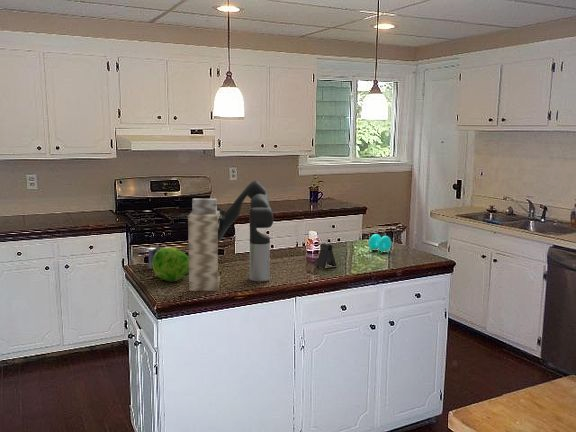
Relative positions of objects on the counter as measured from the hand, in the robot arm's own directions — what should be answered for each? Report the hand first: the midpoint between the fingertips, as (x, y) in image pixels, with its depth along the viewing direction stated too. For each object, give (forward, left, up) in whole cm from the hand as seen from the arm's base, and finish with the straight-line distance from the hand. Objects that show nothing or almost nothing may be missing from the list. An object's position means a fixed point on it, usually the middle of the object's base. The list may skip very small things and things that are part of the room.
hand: (209, 209), depth 255 cm
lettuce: (+16, +16, -30) cm, 38 cm away
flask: (+26, -6, -31) cm, 41 cm away
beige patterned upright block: (0, +26, -30) cm, 40 cm away
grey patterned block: (0, +16, +2) cm, 16 cm away
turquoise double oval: (-94, -43, -31) cm, 108 cm away
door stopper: (-58, -7, -31) cm, 66 cm away
